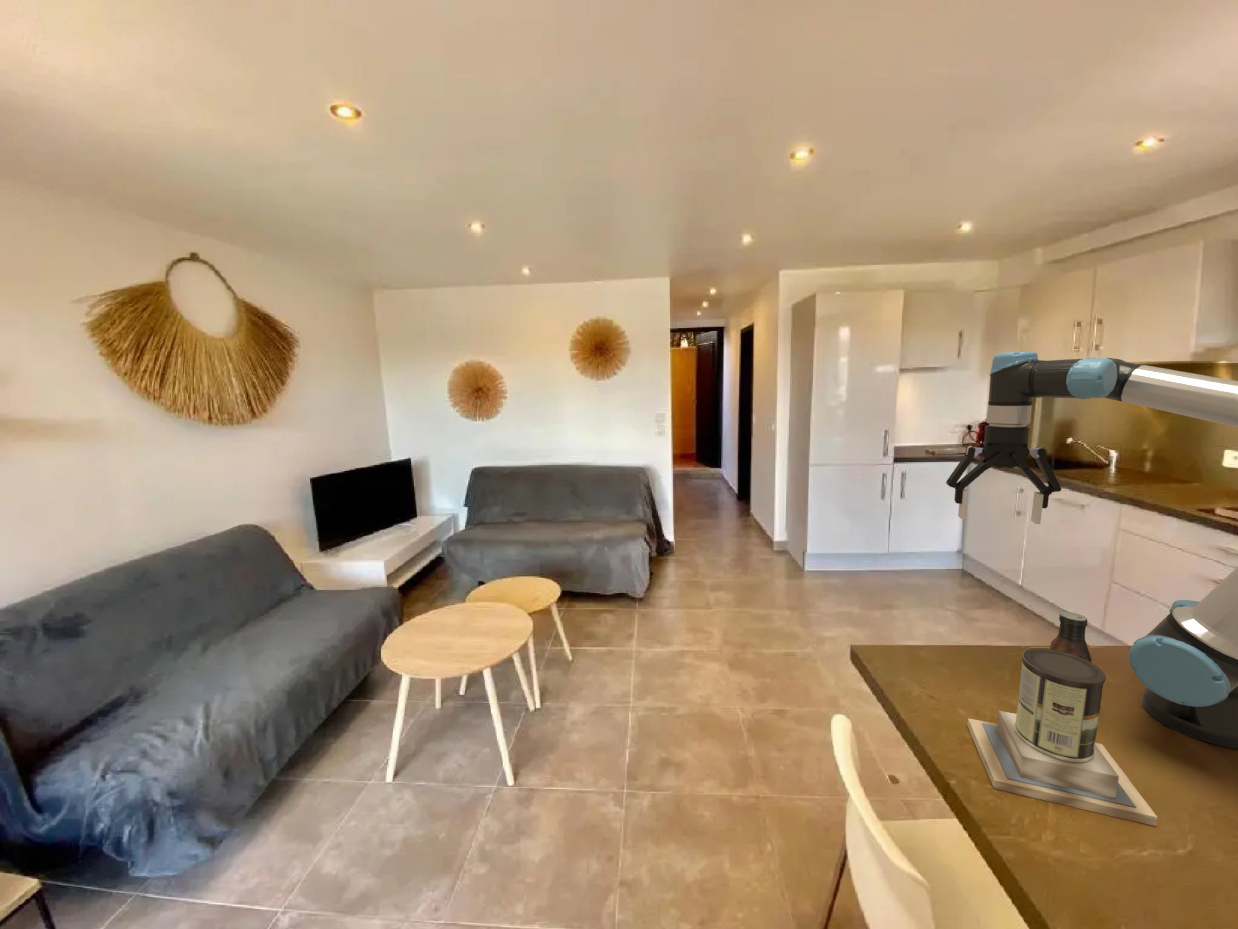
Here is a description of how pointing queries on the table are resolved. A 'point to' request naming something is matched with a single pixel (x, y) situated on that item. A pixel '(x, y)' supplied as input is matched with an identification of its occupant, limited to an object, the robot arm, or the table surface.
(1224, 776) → the table surface
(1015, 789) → the plate
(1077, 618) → the sauce bottle
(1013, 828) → the table surface
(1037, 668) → the coffee can
